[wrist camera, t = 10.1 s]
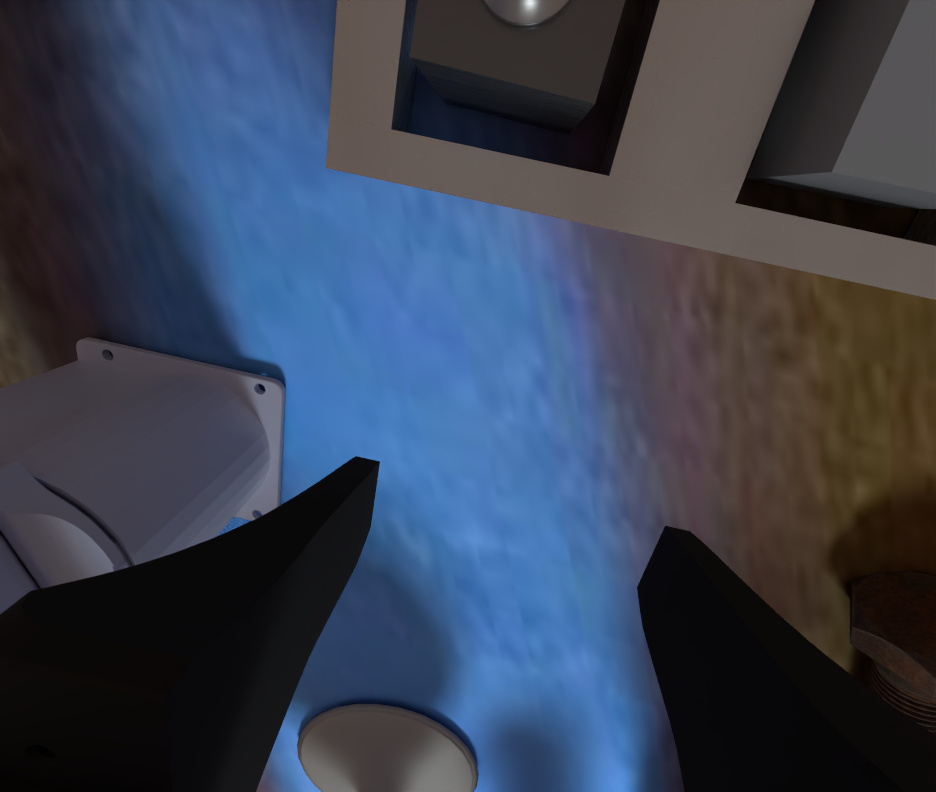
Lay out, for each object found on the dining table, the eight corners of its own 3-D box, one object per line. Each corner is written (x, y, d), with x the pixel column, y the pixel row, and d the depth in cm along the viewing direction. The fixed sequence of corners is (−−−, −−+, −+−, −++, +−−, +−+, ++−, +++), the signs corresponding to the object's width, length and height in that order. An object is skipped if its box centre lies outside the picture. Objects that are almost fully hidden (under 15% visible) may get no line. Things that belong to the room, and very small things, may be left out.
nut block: (446, 103, 17) (406, 53, 11) (475, -60, 15) (447, -225, 9) (569, 134, 17) (596, 101, 11) (615, -25, 15) (675, -167, 9)
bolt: (831, 735, 29) (852, 551, 24) (945, 780, 26) (1002, 581, 20) (829, 838, 25) (853, 647, 20) (963, 905, 22) (1039, 702, 16)
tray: (350, 171, 18) (325, 168, 15) (382, -203, 14) (355, -280, 11) (931, 297, 17) (991, 311, 15) (1137, -49, 13) (1259, -97, 11)
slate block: (745, 179, 17) (831, 172, 12) (812, 4, 15) (947, -84, 10) (886, 207, 17) (1027, 211, 12) (973, 35, 15) (1183, -39, 10)
